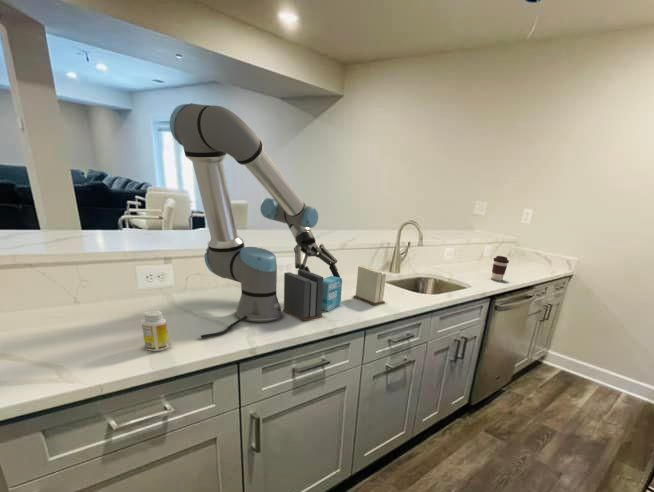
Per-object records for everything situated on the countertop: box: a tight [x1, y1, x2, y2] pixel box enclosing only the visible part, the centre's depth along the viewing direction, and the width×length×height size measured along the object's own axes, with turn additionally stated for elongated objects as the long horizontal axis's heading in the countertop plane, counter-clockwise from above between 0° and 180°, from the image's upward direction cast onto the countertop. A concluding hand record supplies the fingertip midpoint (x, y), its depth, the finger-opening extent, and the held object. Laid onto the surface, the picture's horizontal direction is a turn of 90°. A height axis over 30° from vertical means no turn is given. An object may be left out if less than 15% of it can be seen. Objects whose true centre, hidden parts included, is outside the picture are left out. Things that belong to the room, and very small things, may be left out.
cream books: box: [353, 265, 387, 306], centre depth 170 cm, size 7×13×14 cm, turn 51°
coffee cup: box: [491, 255, 510, 282], centre depth 251 cm, size 10×10×15 cm
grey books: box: [282, 269, 324, 322], centre depth 143 cm, size 8×13×15 cm, turn 51°
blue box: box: [322, 275, 343, 312], centre depth 154 cm, size 12×4×12 cm, turn 161°
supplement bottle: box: [141, 310, 170, 352], centre depth 104 cm, size 6×6×10 cm
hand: (325, 280), depth 155 cm, fingers open, 13 cm apart
